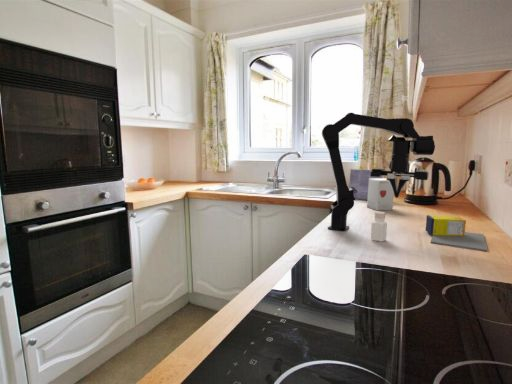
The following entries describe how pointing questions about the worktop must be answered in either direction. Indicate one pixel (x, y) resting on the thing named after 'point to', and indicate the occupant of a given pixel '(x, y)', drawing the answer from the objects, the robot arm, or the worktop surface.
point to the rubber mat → (462, 241)
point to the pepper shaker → (379, 227)
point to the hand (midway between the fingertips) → (396, 197)
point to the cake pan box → (360, 182)
